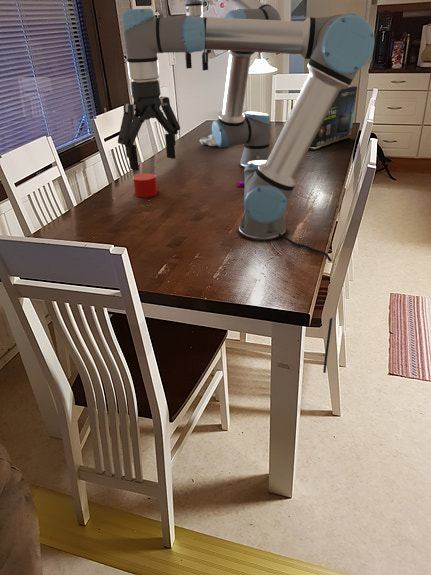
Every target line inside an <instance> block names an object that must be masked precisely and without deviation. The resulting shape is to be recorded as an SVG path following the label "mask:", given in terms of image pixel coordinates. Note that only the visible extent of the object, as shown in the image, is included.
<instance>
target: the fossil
mask: <svg viewBox="0 0 431 575" xmlns="http://www.w3.org/2000/svg"><path fill="white" fill-rule="evenodd" d="M199 142H200V145H202V146H209V147H218V148H222V147H220V146H218V145H217V143H216V142H215V140H214V137H213V133H210V134H208V136H203V137H201V138H200V139H199Z"/></svg>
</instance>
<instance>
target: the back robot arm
mask: <svg viewBox="0 0 431 575" xmlns="http://www.w3.org/2000/svg"><path fill="white" fill-rule="evenodd" d="M209 1H211V2H212V1H213V2H214V1H215V0H184V3H185V16H199V17H204V16H203V15H204V12H203V2H209ZM226 1H227V3H229V4H230V5H232V6H233V7H234V8H235V9H232V10H230V11H228V12H227V14H225V16H224V18H236V19H258V20H279V21H282V18H281V15H280V13H279V12H278V10H277V9H276V8H275V7H273V6H272V5H271V4H268V3H263V2H262V1H260V0H226ZM201 52H202V53H201V65H202V71H209V54H211V53H212V50H208V49H204V50H203V51H201ZM227 52H228V58H227V68H226V77H225V85H224V93H223V101H222V102H223V103H222V110H220V111H219V112H218V116H217V119H214V120H212V123H211V134H213V137H214V140H215V142H216V143H217V145H218V146H220V147H221V148H230V147H236V146H242V145H243V151H242V154H241V158H240V159H239V160H240V161H239V165H240V166H241V168H244V169H245V164H246V163H248V162H250V161H257V160H267V159H268V157H269V155H270V153H271V150H270V138H271V136H270V134H271V117H270V115H269V114H268V113H264V112H260V111H259V112H258V111H245V112H244V107H245V106H244V105H245V99H246V93H247V92H246V91H247V85H248V78H249V70H250V64H251V57H252V55H254V54H255V53H256V52H245V51H227ZM183 53H184V57H185V58H184V59H185V68H186V69H193V66H192V63H193V62H192V53H189V52H183ZM218 146H217V147H218ZM220 147H219V148H220Z"/></svg>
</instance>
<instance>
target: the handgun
mask: <svg viewBox="0 0 431 575" xmlns="http://www.w3.org/2000/svg"><path fill="white" fill-rule="evenodd" d="M237 186H238V187H245V180H243V181H237Z"/></svg>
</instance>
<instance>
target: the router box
mask: <svg viewBox="0 0 431 575" xmlns="http://www.w3.org/2000/svg"><path fill="white" fill-rule="evenodd" d="M357 93H358V86H356V85H350V86H349V87H346V88H344V89H342V90H340V91H339V93H338V95H337V97H336V99H335V101H334V103H333V104H332V106H331V108H330V110H329V112H328V114H327V116H326V117H325V119H324V121H323V123H322V125H321V127H320V129H319V130H318V132H317V134H316V136H315V138H314V140H313V142H312V144H311V145H310V147H317V146H320V145H323V144H325V143H328V142H331V141H333V140H336V139H338V138H341V137H344V136H347V135H351V136H352V133H353V132H352V131H353V125H354V115H355V109H356V99H357ZM311 151H313V150H312V149H311Z"/></svg>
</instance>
